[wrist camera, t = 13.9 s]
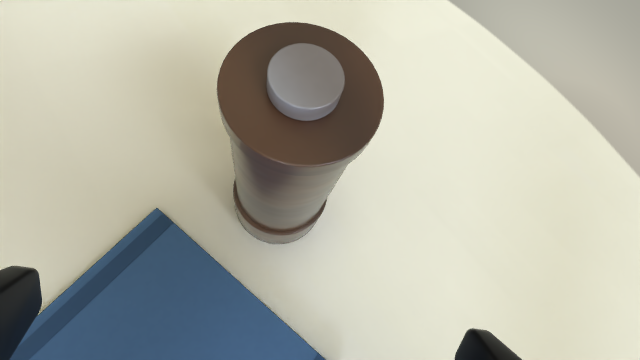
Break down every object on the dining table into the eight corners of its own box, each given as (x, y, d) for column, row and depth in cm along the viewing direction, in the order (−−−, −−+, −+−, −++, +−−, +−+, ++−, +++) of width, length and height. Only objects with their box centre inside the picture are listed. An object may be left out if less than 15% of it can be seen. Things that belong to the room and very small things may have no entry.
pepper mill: (282, 262, 21) (318, 194, 9) (216, 204, 21) (173, 71, 10) (336, 199, 23) (424, 77, 11) (275, 147, 23) (297, -22, 11)
